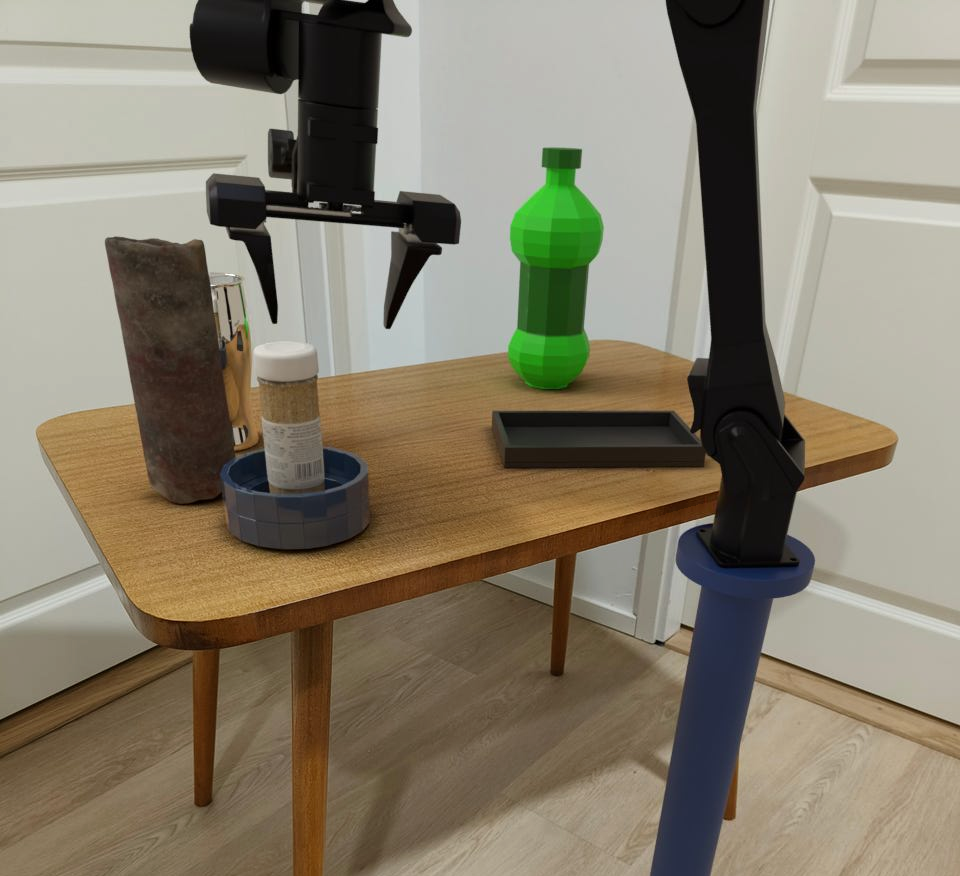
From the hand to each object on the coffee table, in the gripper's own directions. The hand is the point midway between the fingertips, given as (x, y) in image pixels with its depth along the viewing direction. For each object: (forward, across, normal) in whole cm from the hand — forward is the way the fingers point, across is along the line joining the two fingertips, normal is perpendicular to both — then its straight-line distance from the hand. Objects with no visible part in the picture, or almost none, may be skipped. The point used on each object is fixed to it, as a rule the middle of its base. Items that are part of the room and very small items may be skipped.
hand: (331, 325), depth 73 cm
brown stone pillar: (+14, +11, 0) cm, 18 cm away
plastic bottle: (+12, -31, -25) cm, 41 cm away
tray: (+11, -27, -2) cm, 29 cm away
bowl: (+13, +4, +9) cm, 17 cm away
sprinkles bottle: (+13, +4, +9) cm, 16 cm away
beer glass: (+15, +8, -11) cm, 20 cm away
